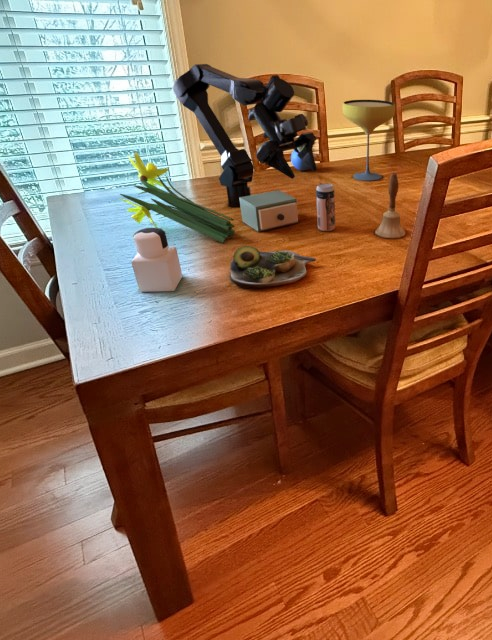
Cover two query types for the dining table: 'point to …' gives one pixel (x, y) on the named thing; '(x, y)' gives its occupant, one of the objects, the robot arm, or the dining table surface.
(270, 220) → the drawer
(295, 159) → the blue mole toy
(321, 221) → the beer can
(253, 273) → the avocado toast plate
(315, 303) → the dining table surface
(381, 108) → the cocktail glass
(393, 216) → the hand bell
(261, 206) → the drawer box
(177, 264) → the pink block figurine
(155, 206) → the daffodil flowers
